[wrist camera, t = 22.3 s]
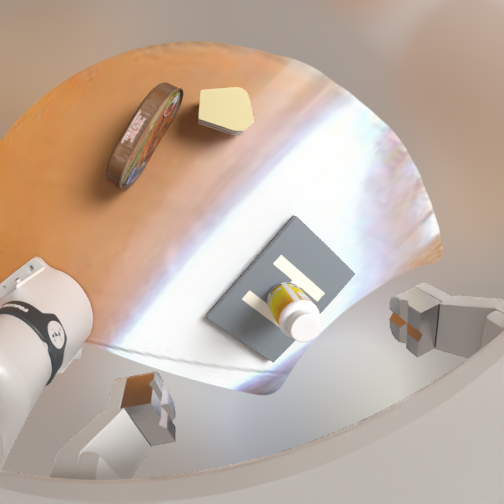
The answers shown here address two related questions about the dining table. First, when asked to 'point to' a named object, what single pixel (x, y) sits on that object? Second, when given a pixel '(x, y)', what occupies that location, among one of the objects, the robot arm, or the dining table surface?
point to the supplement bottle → (294, 312)
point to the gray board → (271, 274)
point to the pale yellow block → (226, 110)
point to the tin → (143, 135)
